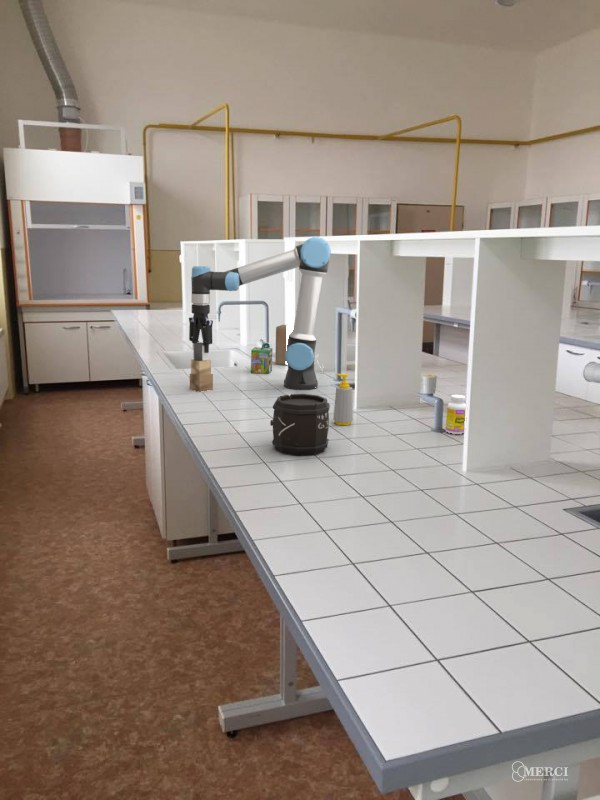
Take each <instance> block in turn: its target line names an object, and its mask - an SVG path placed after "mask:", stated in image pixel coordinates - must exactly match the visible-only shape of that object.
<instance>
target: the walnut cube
mask: <svg viewBox="0 0 600 800" xmlns="http://www.w3.org/2000/svg"><path fill="white" fill-rule="evenodd" d="M190 389H192V390H191V391H194V390H196V391H195V392H197V391H199V392H198V393H202V392H201V391H204V392H208V391H207V390H210V391H213V390H214V374H213V373H211V374H208V375H201V376H199V375H195V374H191V372H190V373H189V390H190Z"/></svg>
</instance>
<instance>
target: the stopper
mask: <svg viewBox="0 0 600 800" xmlns="http://www.w3.org/2000/svg"><path fill="white" fill-rule="evenodd" d="M202 344H203V341H202V342H200V341H199V342H197V343H194V360H195V361H202ZM205 361H207V360H205Z"/></svg>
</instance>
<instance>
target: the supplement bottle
mask: <svg viewBox="0 0 600 800" xmlns="http://www.w3.org/2000/svg"><path fill="white" fill-rule="evenodd" d="M465 401H466V396H465V395H464V394H463V395H462V394H452V395H450V402H449V403H448V404H447V408H446V418H445V420H446V421H445V432H446V433H447V432H448V433H447V434H450V433H452V434H451V435H455V434H460V435H463V434H462V433H463V432H464V421H465V408H466V405H467V404H466V403H465Z"/></svg>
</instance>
